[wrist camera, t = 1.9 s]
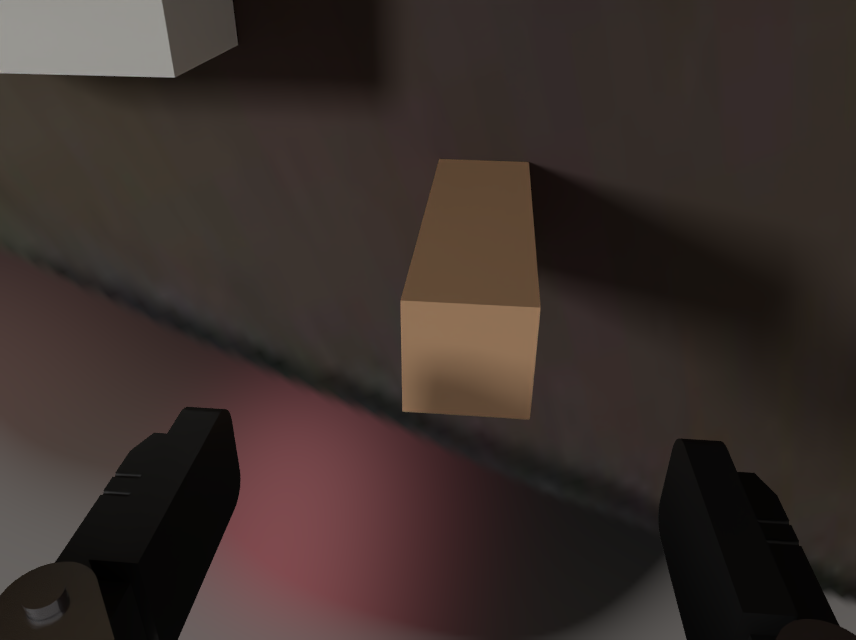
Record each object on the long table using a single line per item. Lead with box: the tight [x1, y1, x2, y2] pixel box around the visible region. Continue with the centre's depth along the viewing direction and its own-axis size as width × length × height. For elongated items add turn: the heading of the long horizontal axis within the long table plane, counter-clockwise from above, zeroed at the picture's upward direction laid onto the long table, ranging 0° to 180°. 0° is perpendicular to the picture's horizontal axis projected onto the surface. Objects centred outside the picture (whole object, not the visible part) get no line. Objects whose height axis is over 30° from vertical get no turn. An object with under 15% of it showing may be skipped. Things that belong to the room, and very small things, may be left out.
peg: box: [401, 159, 540, 420], centre depth 20 cm, size 3×3×10 cm
